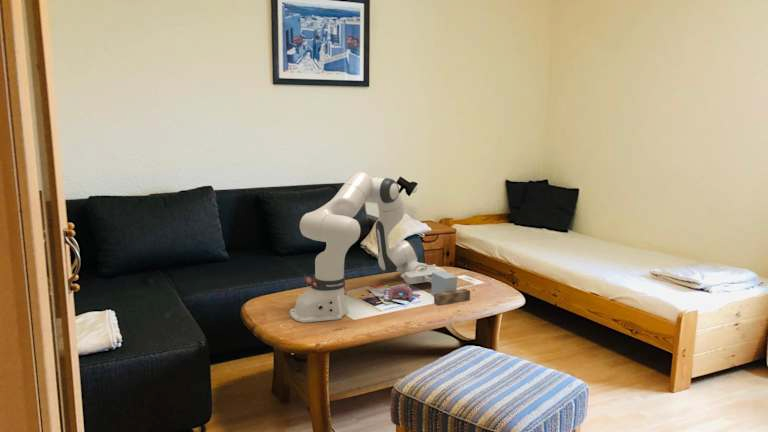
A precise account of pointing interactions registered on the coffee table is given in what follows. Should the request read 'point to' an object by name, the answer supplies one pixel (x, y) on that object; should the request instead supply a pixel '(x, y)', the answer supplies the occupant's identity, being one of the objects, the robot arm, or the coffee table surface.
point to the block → (443, 282)
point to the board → (451, 297)
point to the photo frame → (469, 279)
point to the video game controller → (400, 288)
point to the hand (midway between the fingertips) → (434, 280)
